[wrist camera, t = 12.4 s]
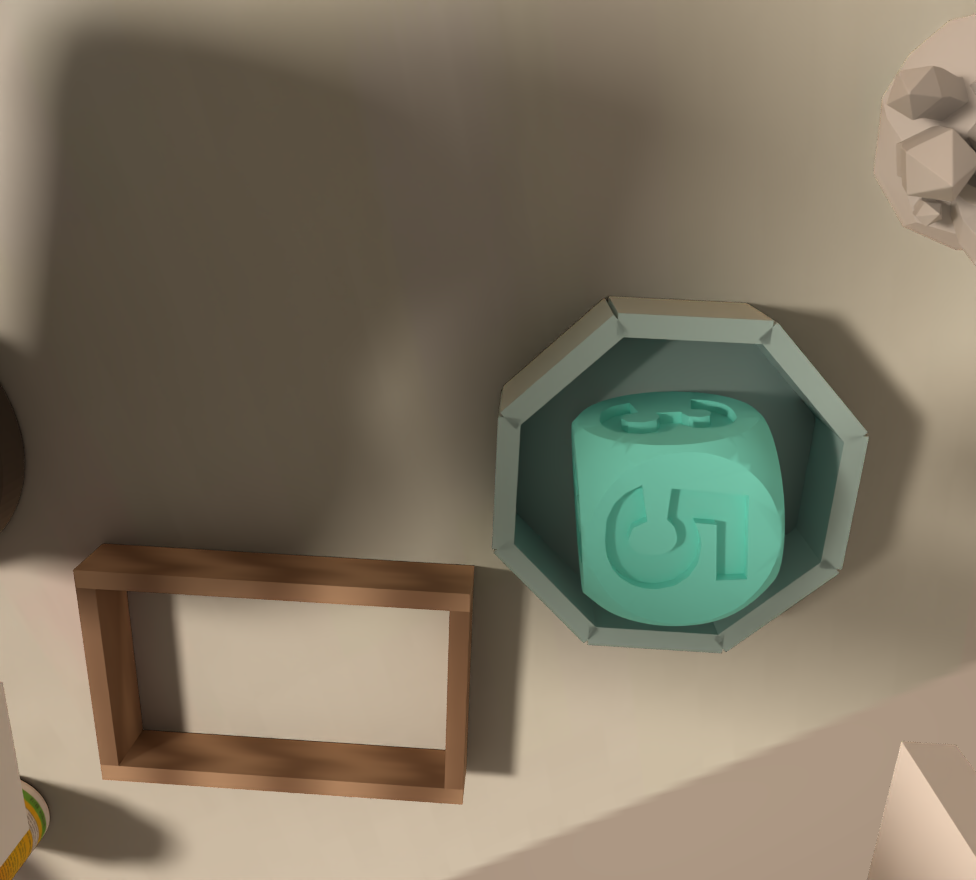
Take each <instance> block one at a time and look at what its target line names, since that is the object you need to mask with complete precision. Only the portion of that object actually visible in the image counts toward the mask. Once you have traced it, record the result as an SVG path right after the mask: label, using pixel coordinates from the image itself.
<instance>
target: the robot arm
mask: <svg viewBox="0 0 976 880" xmlns="http://www.w3.org/2000/svg"><path fill="white" fill-rule="evenodd" d="M23 479H24V450H23V443H22V438H21V433H20V429H19V426H18V422H17V419H16V417H15V414H14V411H13V409H12V407H11V404H10V402H9V400H8V398H7V396H6V394H5V392H4V390H3V389H2V387H1V385H0V533H1V531H2V530H3V529H4V528H5V526H6V525H7V523H8V522H9V520H10V519H11V517H12V515H13V513H14V511H15V509H16V506H17V504H18V501H19V498H20V495H21V491H22V486H23ZM28 830H29V825H28V819H27V814H26V808H25V803H24V797H23V792H22V786H21V781H20V775H19V770H18V764H17V759H16V753H15V748H14V742H13V737H12V731H11V726H10V720H9V715H8V709H7V704H6V698H5V693H4V687H3V682H0V867H1V866H2V864H3V863H4V862H5V860H6V859H7V858H8V856H9V855H10V854H11V852H12V851H13V850H14V849H15V847H16V846H17V845H18V843H19V842H20V841H21V839H22V838H23V837H24V835H25V834H26V833H27V831H28ZM867 880H976V771H975V770H974V769H973V767H972V766H971V764H970V763H969V762H968V760H967V759H966V758H965V756H964V755H963V753H962V752H961V751H960V749H959V748H958V747H957V745H951V744H935V743H921V742H905V741H902V742H901V746H900V750H899V754H898V758H897V762H896V766H895V770H894V774H893V778H892V782H891V786H890V790H889V794H888V798H887V802H886V806H885V810H884V814H883V818H882V822H881V826H880V830H879V834H878V838H877V842H876V846H875V850H874V854H873V858H872V862H871V866H870V870H869V874H868V878H867Z"/></svg>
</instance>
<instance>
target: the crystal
mask: <svg viewBox="0 0 976 880" xmlns="http://www.w3.org/2000/svg"><path fill="white" fill-rule="evenodd" d="M873 172H874V176H875V178H876V180H877V182H878V183H879V185H880V187H881V189H882V191H883V192H884V194H885V196H886V198H887V199H888V201H889V203H890V205H891V206H892V208H893V210H894V212H895V214H896V215H897V217H898V219H899V221H900V222H901V224H902V226H903V227H905V228H907V229H910V230H912V231H914V232H916V233H919V234H921V235H923V236H925V237H928V238H930V239H932V240H935V241H937V242H939V243H941V244H944V245H946V246H948V247H950V248H953V249H955V250H964V252H965V253H966V254H967V256H968V257H969V258H970V260H971V261H972V262H973V264H974V265H976V14H974V15H970V16H966V17H962V18H958V19H954V20H949V21H948V22H947V23H946V24H944V25H943V26H942V27H941V28H940V29H938V30H937V31H936V32H935V33H934V34H933V35H931V36H930V37H929V38H928V39H927V40H925V41H924V42H923V43H922V44H921V45H919V46H918V47H917V48H916V49H915V50H913V51H912V52H911V53H910V54H909V55H908V57H907V58H906V60H905V62H904V63H903V65H902V66H901V68H900V69H899V71H898V72H897V74H896V76H895V77H894V79H893V81H892V82H891V84H890V85H889V87H888V88H887V90H886V92H885V93H884V95H883V96H882V102H881V113H880V123H879V130H878V138H877V146H876V154H875V162H874V169H873Z"/></svg>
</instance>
